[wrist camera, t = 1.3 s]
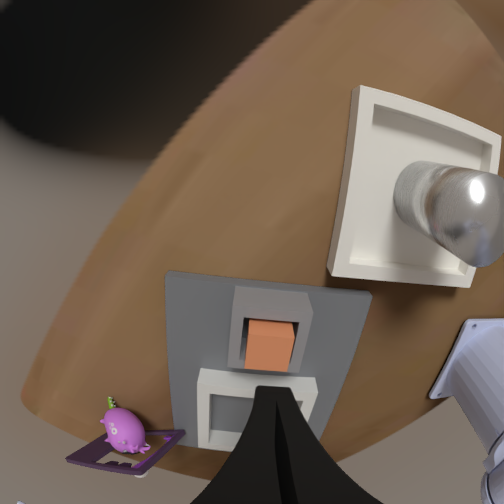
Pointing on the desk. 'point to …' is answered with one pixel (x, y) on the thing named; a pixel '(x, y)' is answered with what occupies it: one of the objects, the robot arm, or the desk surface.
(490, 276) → the desk surface
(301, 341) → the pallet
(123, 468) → the eggplant monster toy
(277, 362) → the button
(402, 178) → the cylinder
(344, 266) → the tray
